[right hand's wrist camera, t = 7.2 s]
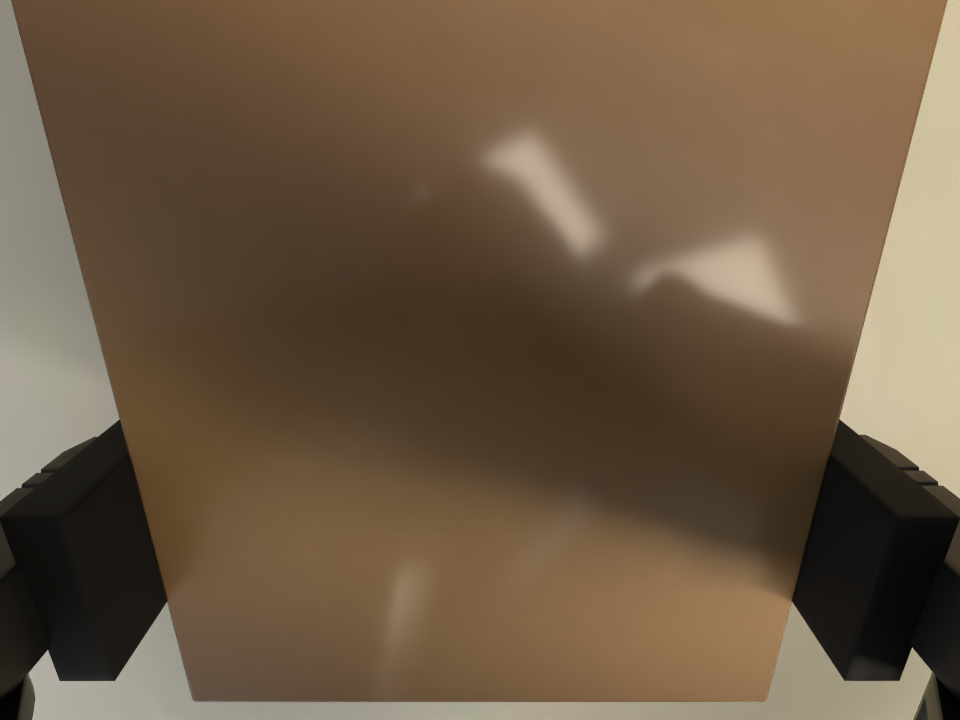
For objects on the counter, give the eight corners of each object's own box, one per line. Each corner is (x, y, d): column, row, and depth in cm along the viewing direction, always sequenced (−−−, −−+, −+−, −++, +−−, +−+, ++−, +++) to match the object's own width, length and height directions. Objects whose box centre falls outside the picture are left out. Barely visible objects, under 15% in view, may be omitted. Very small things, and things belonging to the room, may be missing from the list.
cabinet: (219, -371, 11) (-401, -1560, 3) (739, -370, 11) (1354, -1554, 3) (317, 452, 18) (191, 703, 10) (641, 452, 18) (767, 703, 10)
